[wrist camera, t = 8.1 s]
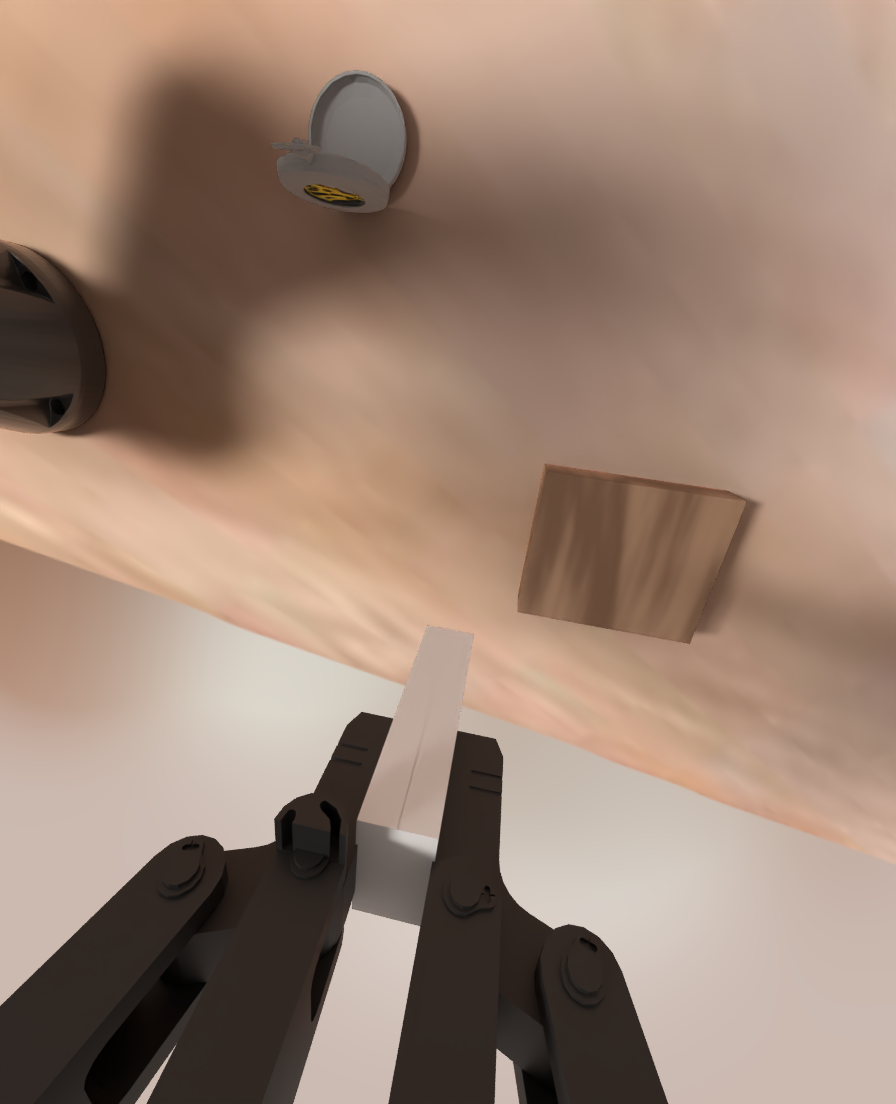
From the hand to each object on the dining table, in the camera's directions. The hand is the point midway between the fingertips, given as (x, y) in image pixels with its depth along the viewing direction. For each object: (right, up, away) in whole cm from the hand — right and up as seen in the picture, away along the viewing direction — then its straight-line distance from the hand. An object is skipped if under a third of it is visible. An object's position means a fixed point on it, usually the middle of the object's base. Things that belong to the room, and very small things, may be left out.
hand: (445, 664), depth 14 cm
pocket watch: (-6, +30, +16) cm, 34 cm away
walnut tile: (+7, +5, +21) cm, 23 cm away
